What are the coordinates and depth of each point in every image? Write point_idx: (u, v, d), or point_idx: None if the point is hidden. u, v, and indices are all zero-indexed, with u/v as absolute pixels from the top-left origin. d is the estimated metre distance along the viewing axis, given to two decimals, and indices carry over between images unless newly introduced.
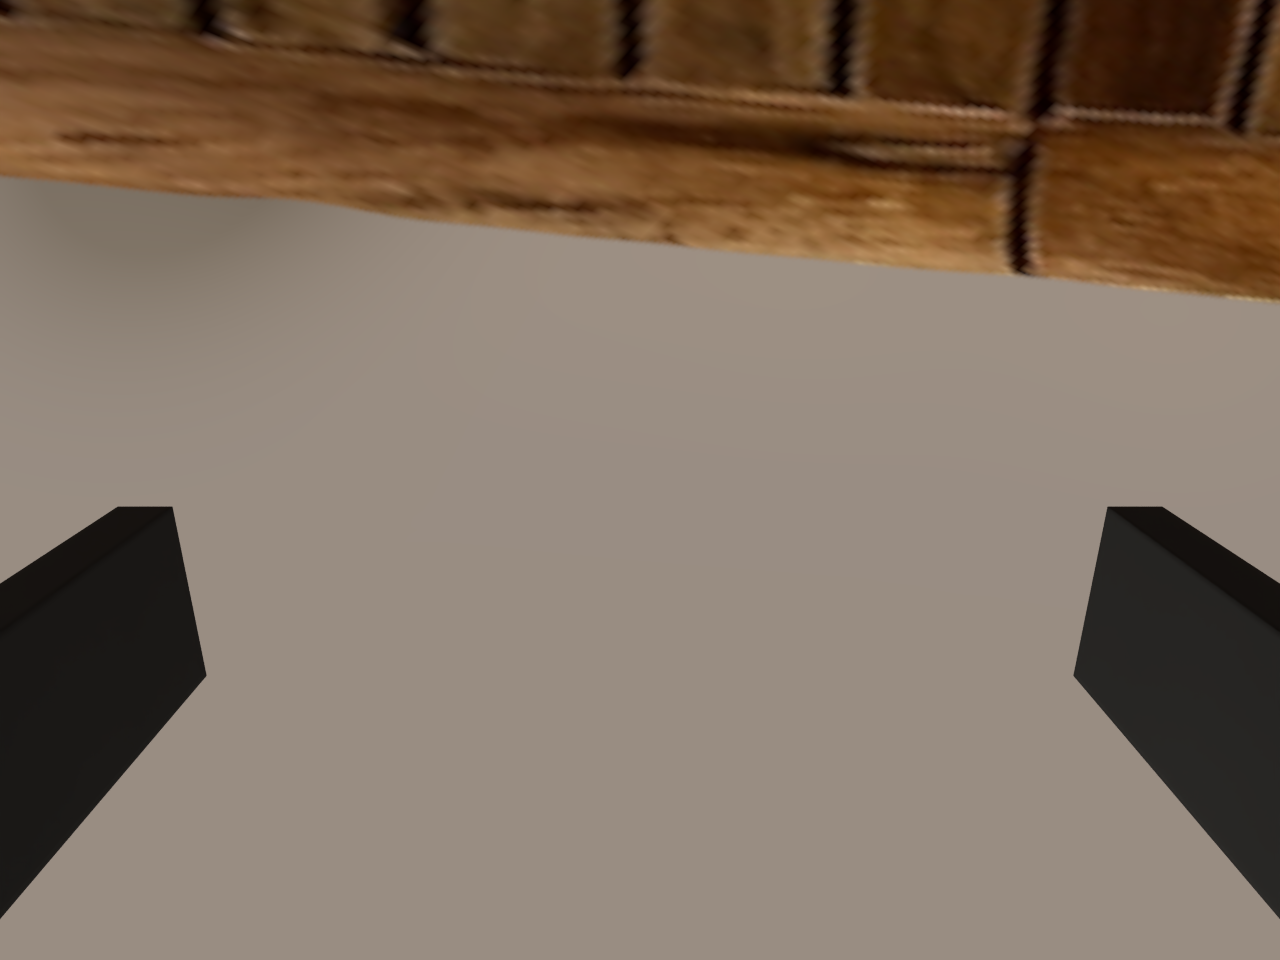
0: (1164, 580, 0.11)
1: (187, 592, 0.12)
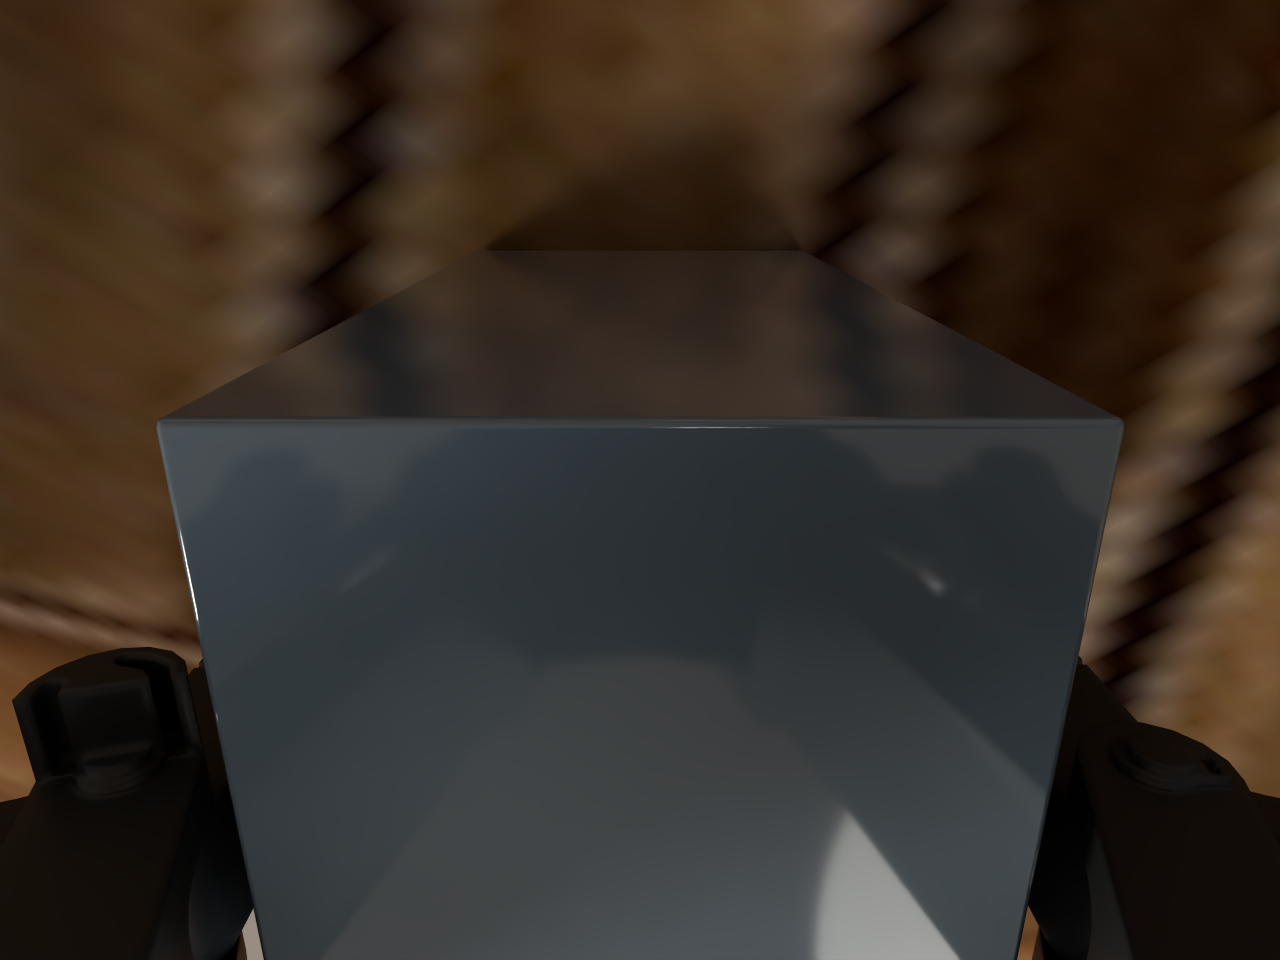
0: None
1: None
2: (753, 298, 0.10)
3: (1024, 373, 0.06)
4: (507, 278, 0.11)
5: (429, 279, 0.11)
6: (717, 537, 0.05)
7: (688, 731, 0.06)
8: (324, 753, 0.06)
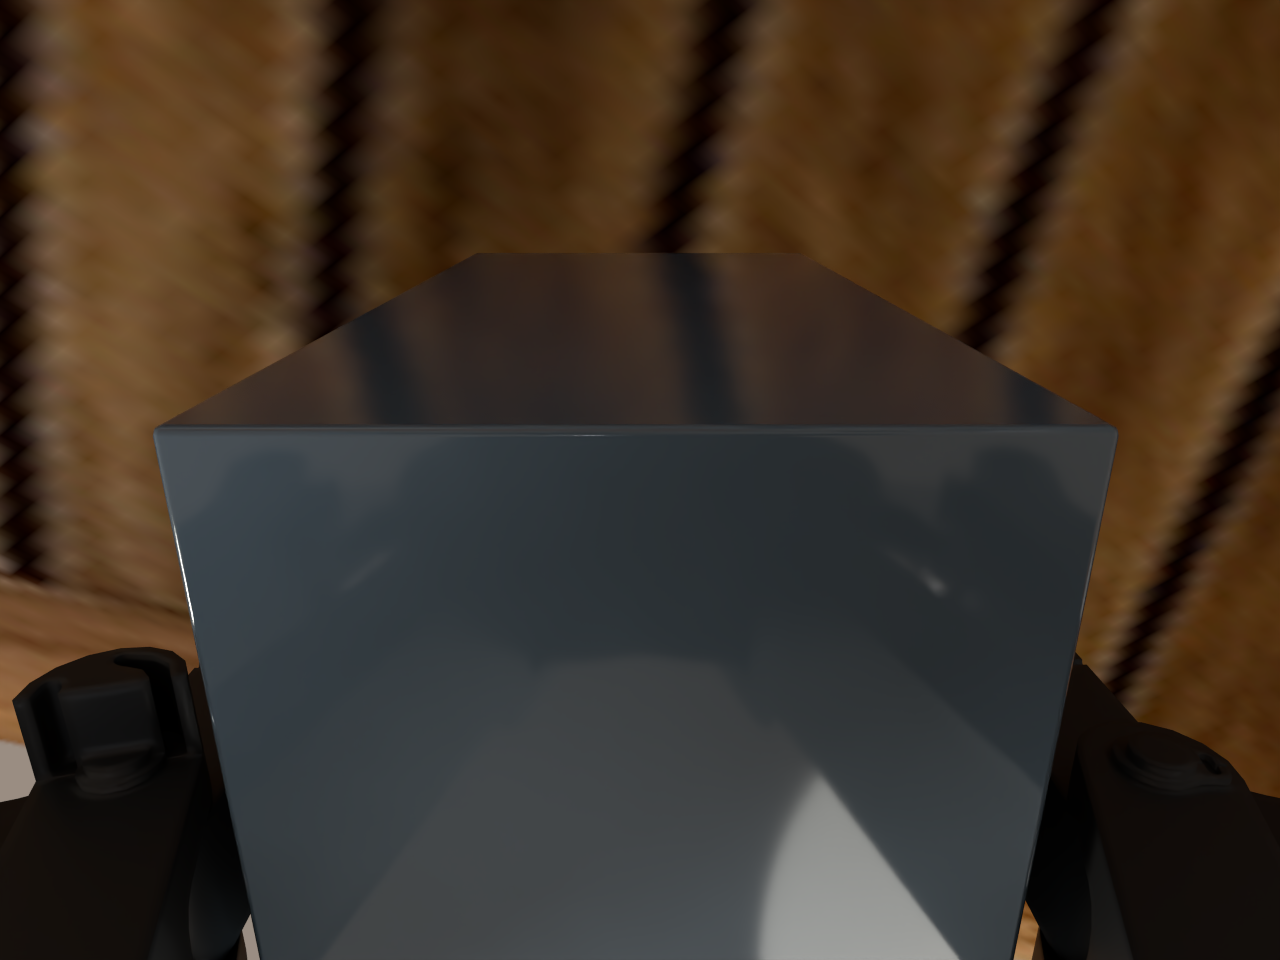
0: None
1: None
2: (750, 302, 0.10)
3: (1019, 380, 0.06)
4: (505, 282, 0.11)
5: (427, 283, 0.11)
6: (710, 545, 0.05)
7: (684, 738, 0.06)
8: (320, 759, 0.06)
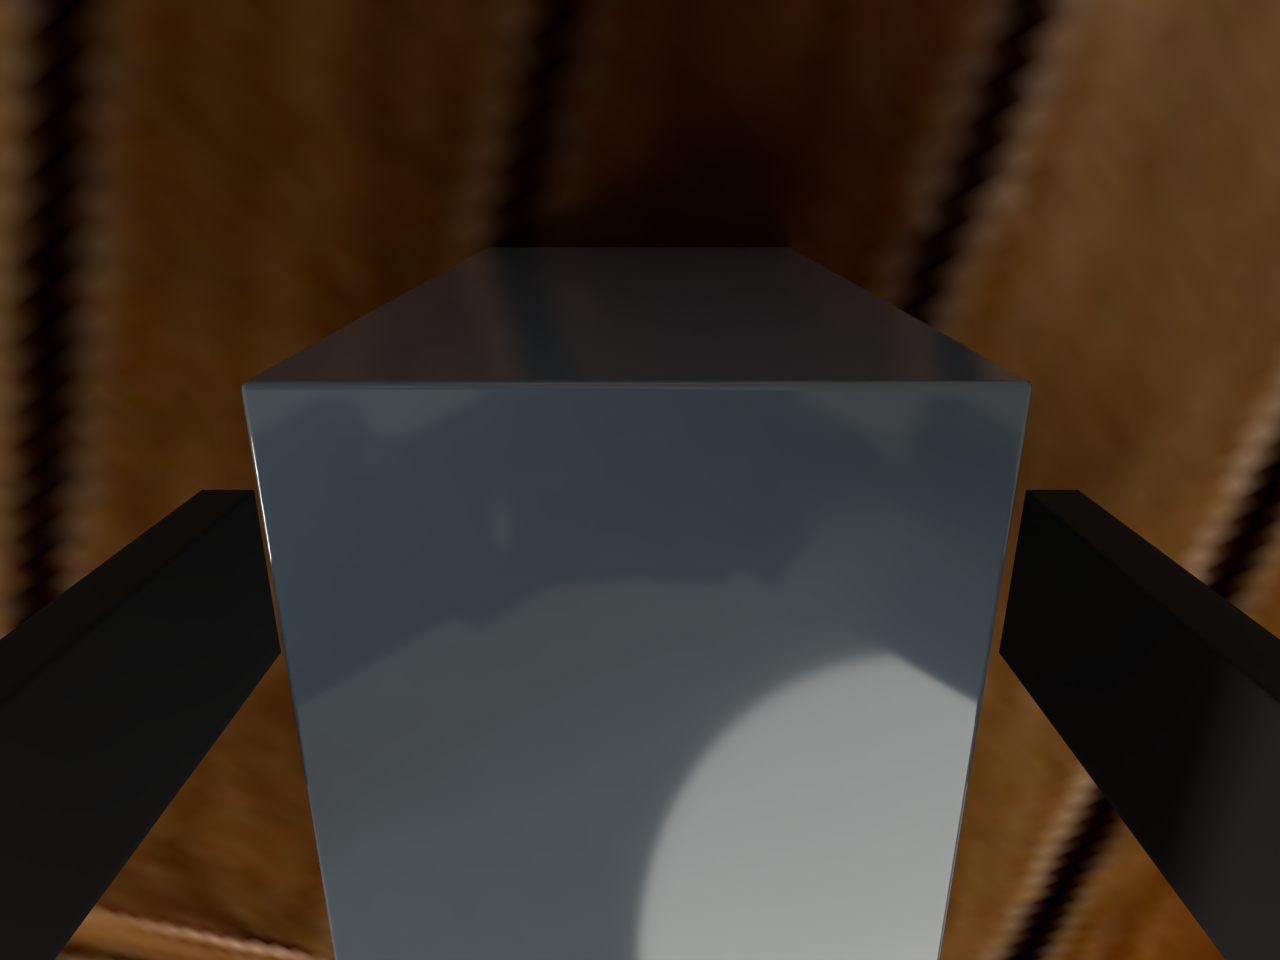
0: (1070, 557, 0.11)
1: (265, 572, 0.13)
2: (739, 289, 0.11)
3: (961, 348, 0.07)
4: (517, 272, 0.13)
5: (446, 273, 0.12)
6: (699, 481, 0.06)
7: (676, 647, 0.07)
8: (372, 665, 0.07)
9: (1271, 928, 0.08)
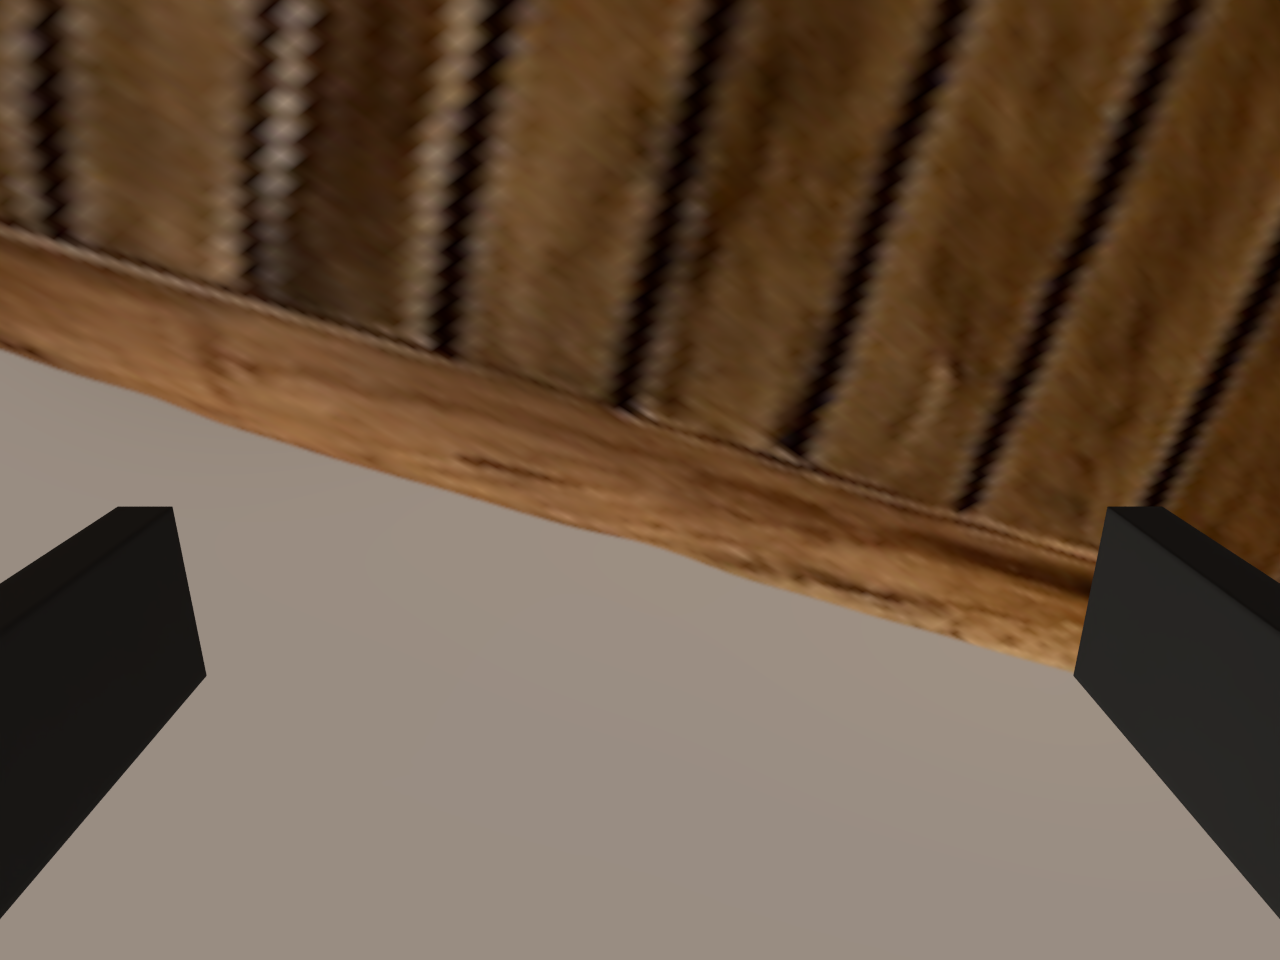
0: (1164, 580, 0.11)
1: (187, 592, 0.12)
2: None
3: None
4: None
5: None
6: None
7: None
8: None
9: None
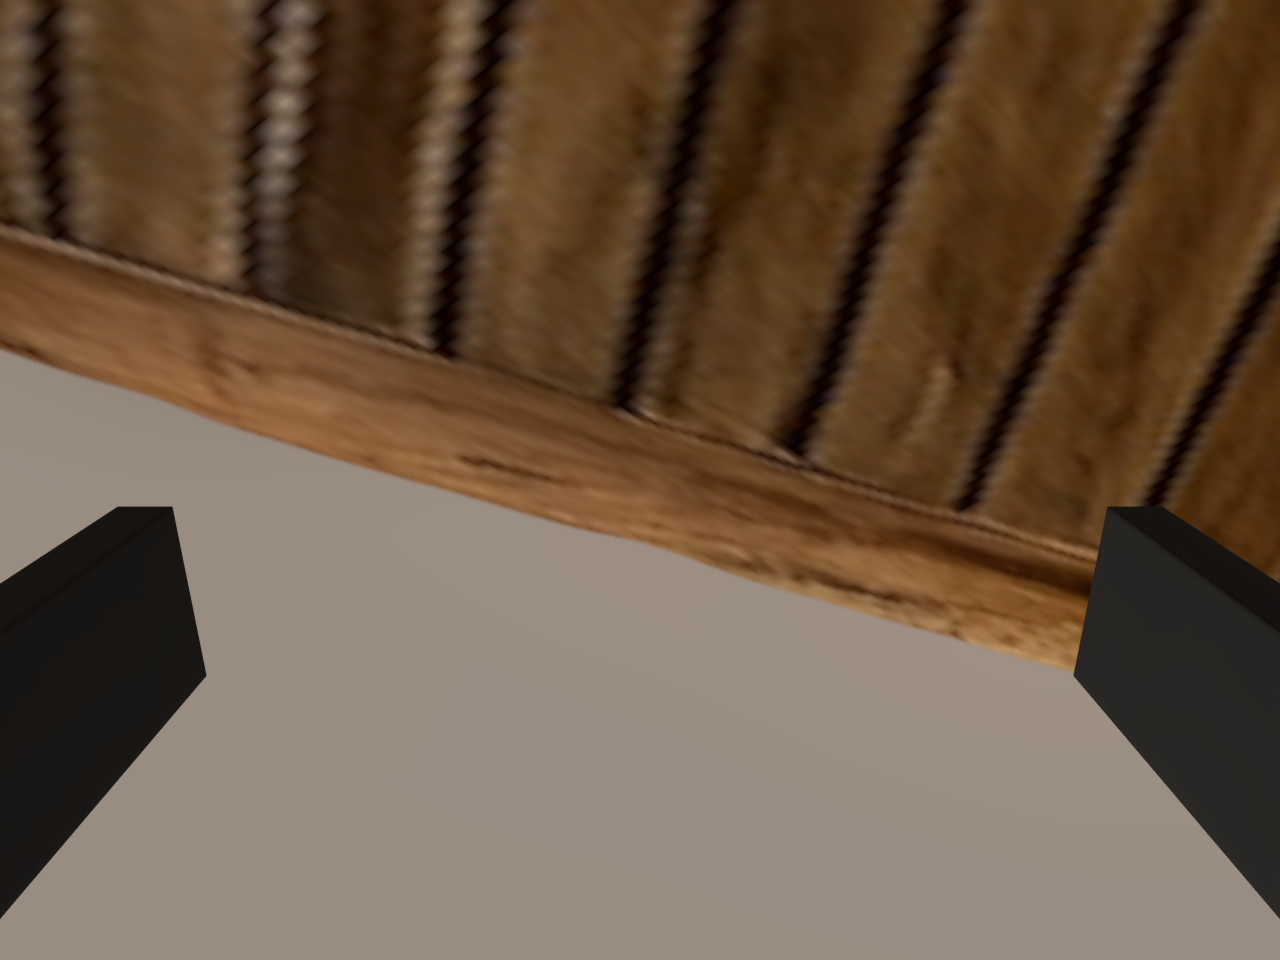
0: (1164, 580, 0.11)
1: (187, 592, 0.12)
2: None
3: None
4: None
5: None
6: None
7: None
8: None
9: None
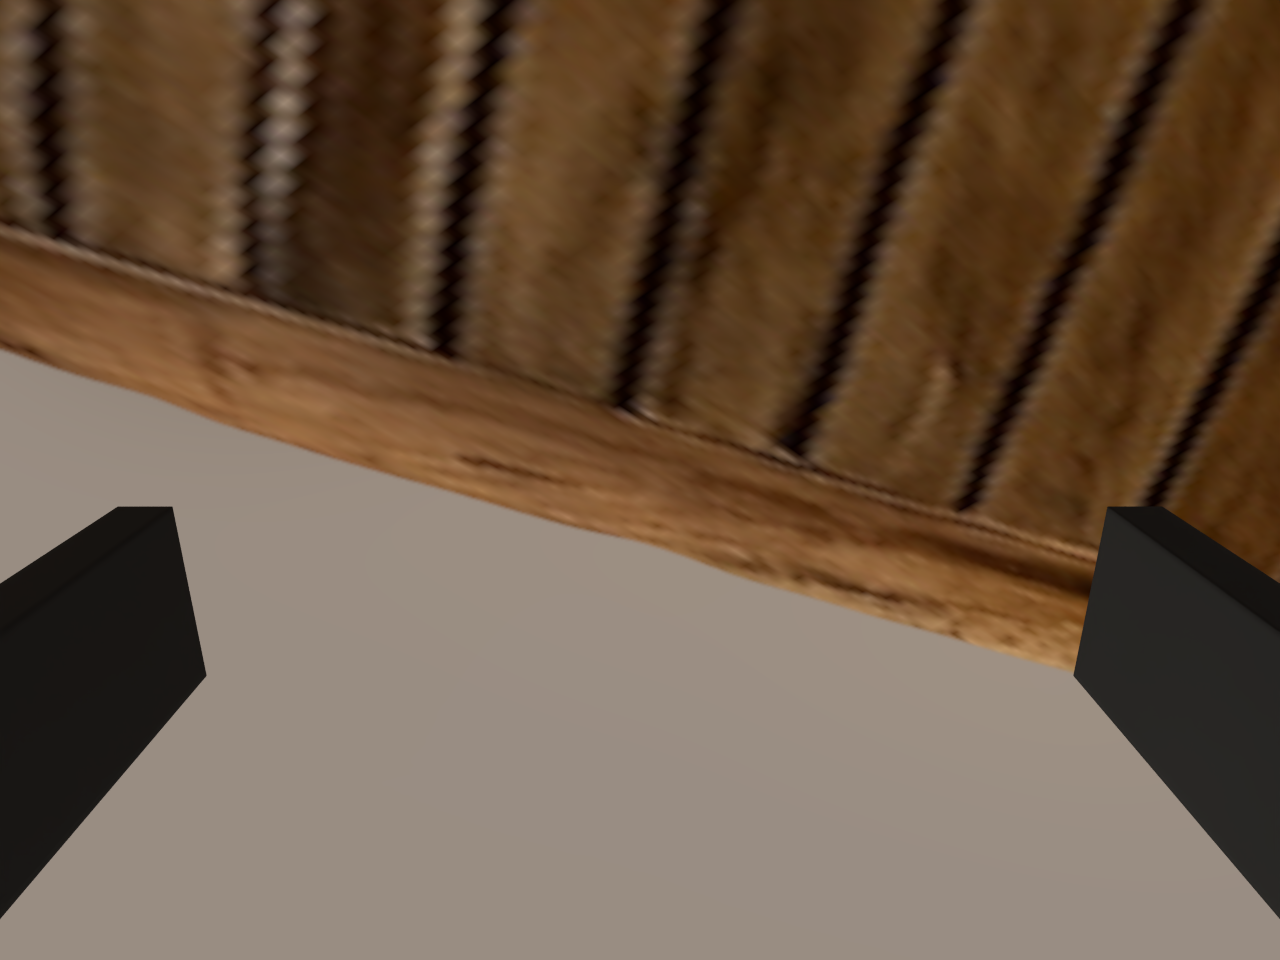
0: (1164, 580, 0.11)
1: (187, 592, 0.12)
2: None
3: None
4: None
5: None
6: None
7: None
8: None
9: None
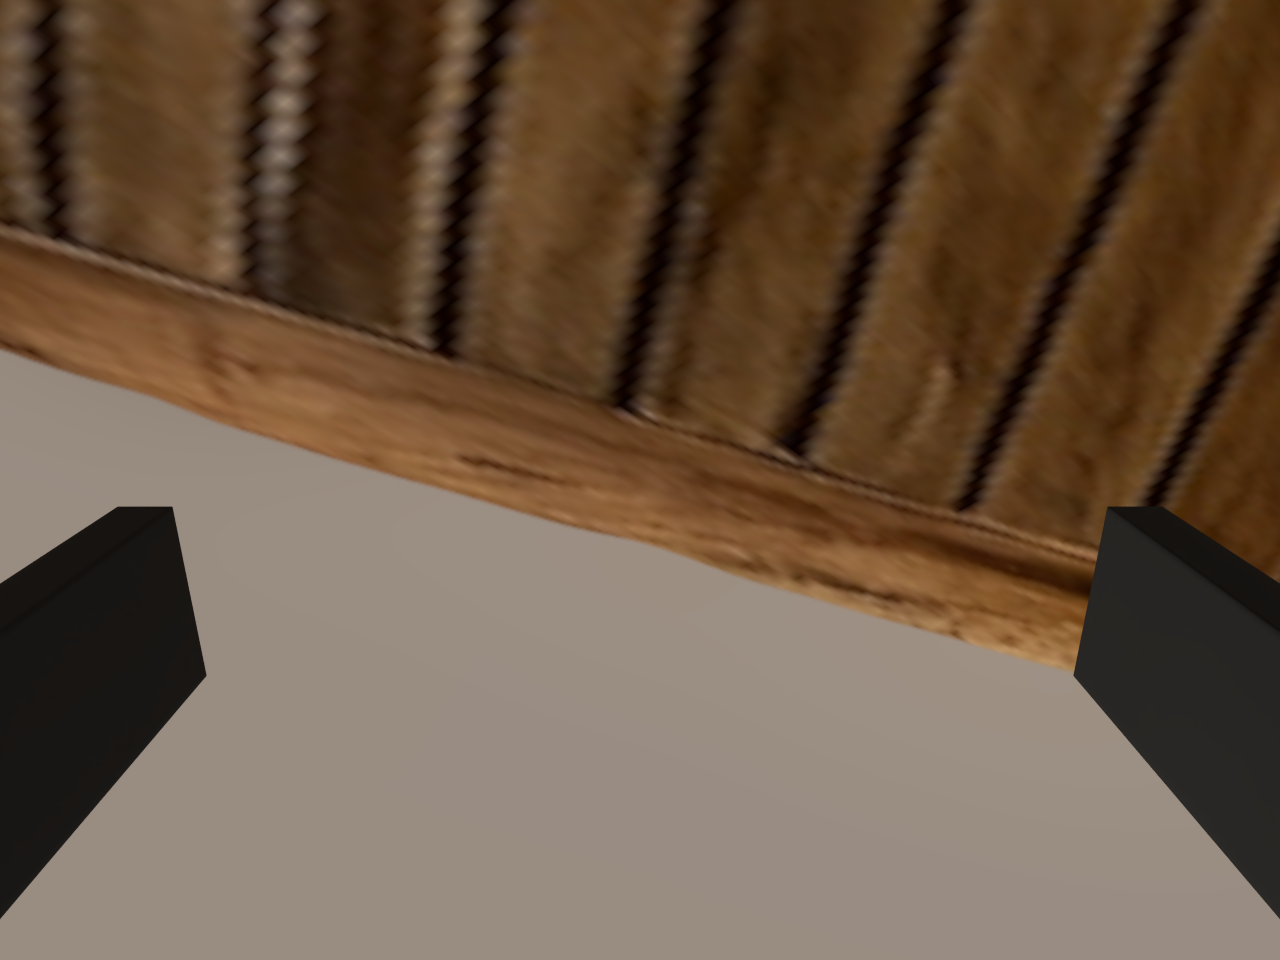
0: (1164, 580, 0.11)
1: (187, 592, 0.12)
2: None
3: None
4: None
5: None
6: None
7: None
8: None
9: None
